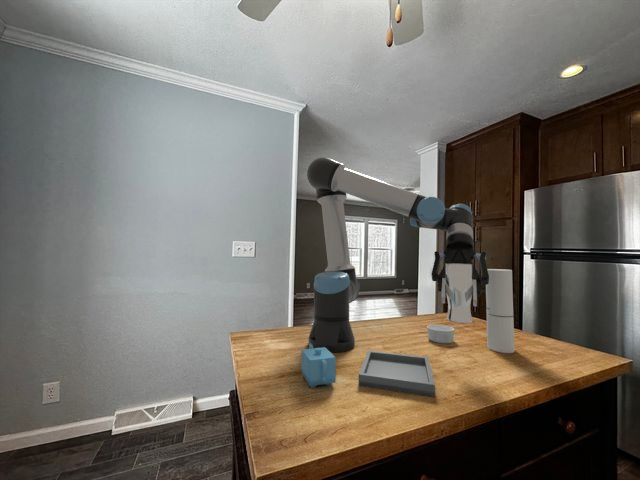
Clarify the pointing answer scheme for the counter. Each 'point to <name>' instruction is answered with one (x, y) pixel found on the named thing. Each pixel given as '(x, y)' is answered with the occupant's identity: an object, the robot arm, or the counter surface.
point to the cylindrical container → (500, 311)
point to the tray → (397, 373)
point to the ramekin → (440, 333)
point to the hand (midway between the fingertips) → (458, 301)
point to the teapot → (318, 366)
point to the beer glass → (459, 291)
